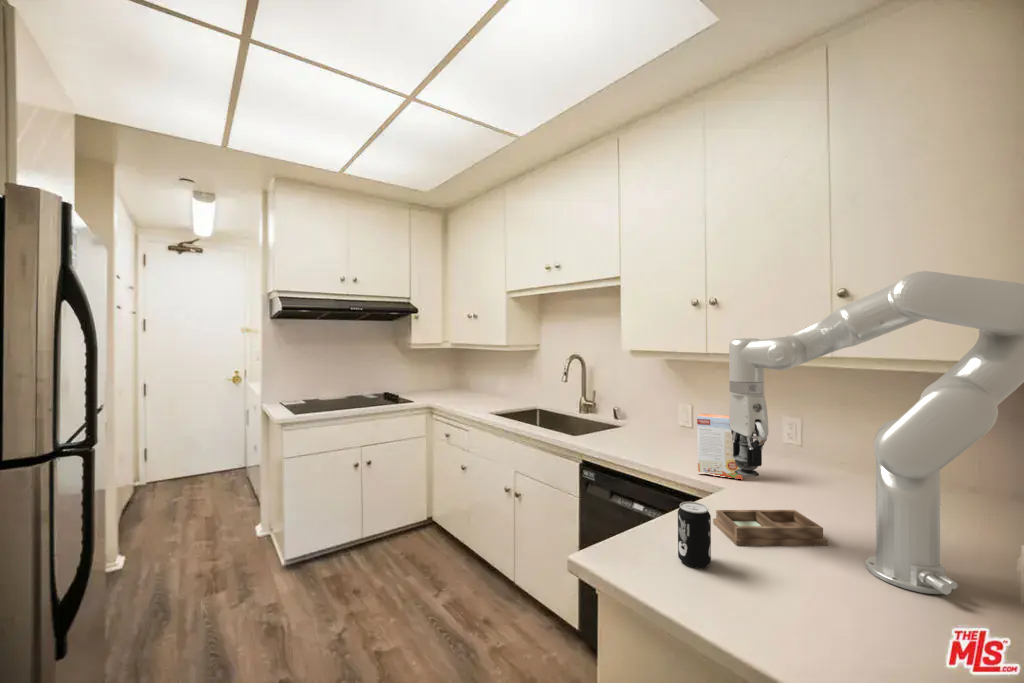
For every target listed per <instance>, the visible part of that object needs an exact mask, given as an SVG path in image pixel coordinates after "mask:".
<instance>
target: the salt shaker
mask: <svg viewBox="0 0 1024 683" xmlns="http://www.w3.org/2000/svg"><path fill="white" fill-rule="evenodd" d="M752 436H754V434H752ZM753 442H754V439H752V443H753ZM738 443H739V444H740V452H739V455H738V456H734V457H733V458H734V459H735V463H736V465H737V466H738V467H739V468H741V469H737V470H735V473H736V474H739V475H742V476H743V477H749V478H750V477H751V478H754V477H759V476H760V473H759V472H758V471H757V469H758V467H759V466H748V465H747V449H749V447H748V441H747V437H746V436H743V435H741V434H740V442H738Z"/></svg>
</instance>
